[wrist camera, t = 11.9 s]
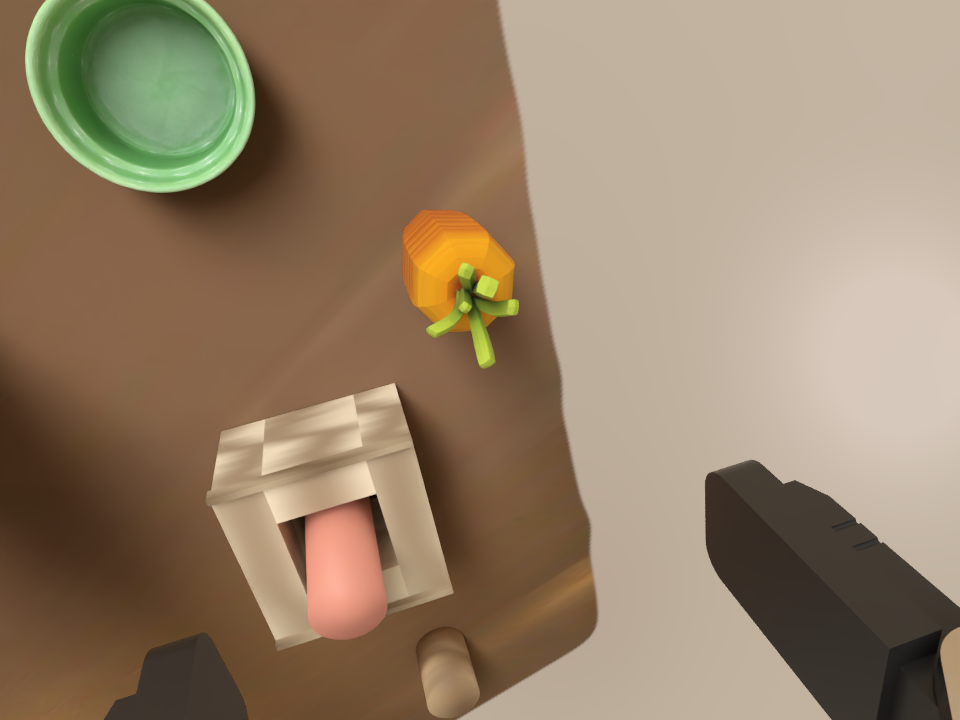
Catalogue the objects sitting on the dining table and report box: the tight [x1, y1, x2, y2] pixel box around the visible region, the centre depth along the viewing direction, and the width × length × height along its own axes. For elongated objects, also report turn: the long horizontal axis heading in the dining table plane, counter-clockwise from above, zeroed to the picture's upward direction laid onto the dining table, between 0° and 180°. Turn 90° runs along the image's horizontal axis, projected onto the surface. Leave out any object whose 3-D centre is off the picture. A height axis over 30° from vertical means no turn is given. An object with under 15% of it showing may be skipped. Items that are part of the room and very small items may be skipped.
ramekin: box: [25, 0, 256, 193], centre depth 30 cm, size 9×9×4 cm
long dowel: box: [305, 496, 388, 640], centre depth 39 cm, size 4×4×12 cm
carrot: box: [402, 210, 519, 369], centre depth 32 cm, size 5×5×15 cm
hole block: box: [206, 383, 454, 651], centre depth 41 cm, size 11×12×8 cm
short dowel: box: [416, 627, 480, 718], centre depth 52 cm, size 4×4×5 cm
